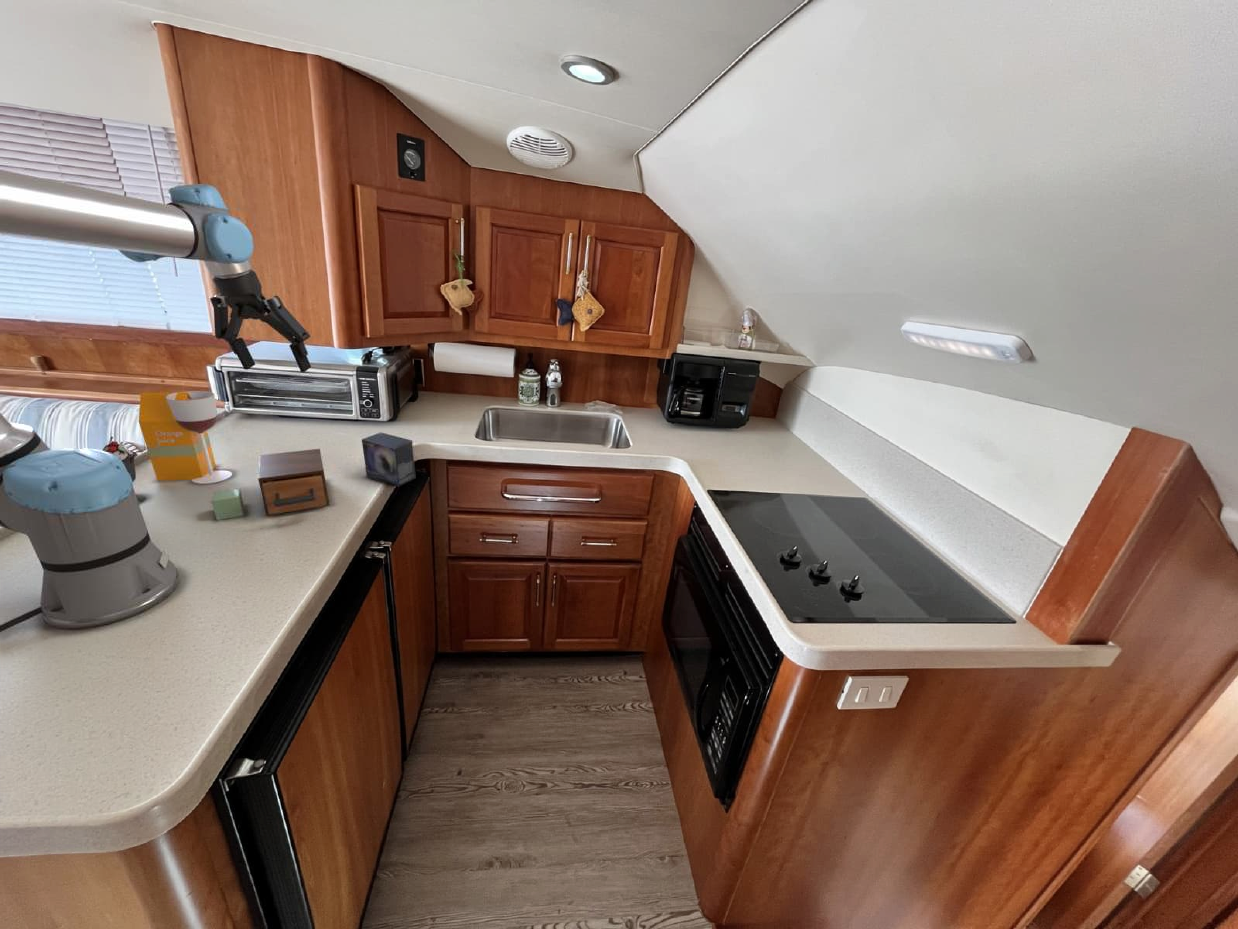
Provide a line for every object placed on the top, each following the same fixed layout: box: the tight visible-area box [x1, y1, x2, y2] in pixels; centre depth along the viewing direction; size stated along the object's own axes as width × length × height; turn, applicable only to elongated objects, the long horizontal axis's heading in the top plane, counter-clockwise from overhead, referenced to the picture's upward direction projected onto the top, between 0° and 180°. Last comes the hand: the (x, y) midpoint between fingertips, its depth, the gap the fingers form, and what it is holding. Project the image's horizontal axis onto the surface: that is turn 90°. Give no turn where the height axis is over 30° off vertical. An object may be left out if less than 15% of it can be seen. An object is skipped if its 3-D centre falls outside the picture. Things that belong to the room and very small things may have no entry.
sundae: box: [102, 436, 147, 504], centre depth 101 cm, size 7×7×15 cm
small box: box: [361, 431, 417, 487], centre depth 122 cm, size 11×6×10 cm, turn 68°
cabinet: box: [257, 448, 330, 516], centre depth 110 cm, size 14×12×9 cm
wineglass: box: [166, 390, 233, 485], centre depth 113 cm, size 8×9×20 cm
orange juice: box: [138, 391, 217, 482], centre depth 114 cm, size 8×9×20 cm
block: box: [211, 488, 245, 521], centre depth 102 cm, size 4×4×4 cm
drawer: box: [262, 474, 326, 516], centre depth 106 cm, size 17×10×7 cm, turn 32°
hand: (278, 368), depth 112 cm, fingers open, 13 cm apart
